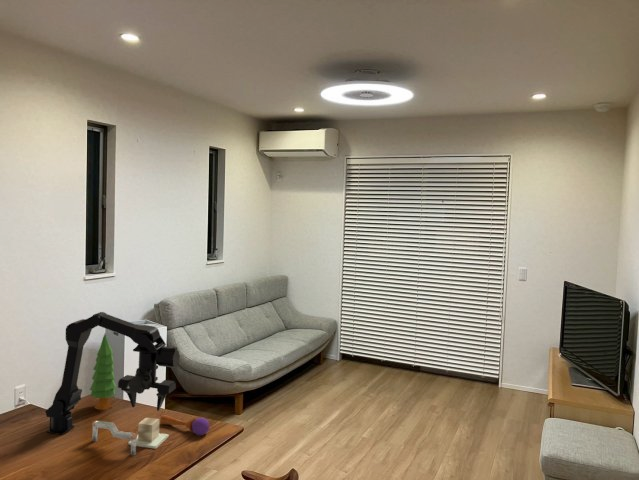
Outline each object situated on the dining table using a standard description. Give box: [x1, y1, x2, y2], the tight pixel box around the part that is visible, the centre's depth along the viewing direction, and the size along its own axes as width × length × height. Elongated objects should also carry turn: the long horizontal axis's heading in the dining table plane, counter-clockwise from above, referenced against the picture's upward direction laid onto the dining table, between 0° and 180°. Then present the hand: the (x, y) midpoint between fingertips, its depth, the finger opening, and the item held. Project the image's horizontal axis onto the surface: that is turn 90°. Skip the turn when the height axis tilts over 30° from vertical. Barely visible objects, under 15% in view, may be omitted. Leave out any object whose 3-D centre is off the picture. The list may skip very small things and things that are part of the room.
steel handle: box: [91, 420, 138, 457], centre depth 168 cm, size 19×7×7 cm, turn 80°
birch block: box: [137, 417, 160, 443], centre depth 174 cm, size 5×5×6 cm
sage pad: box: [127, 432, 169, 450], centre depth 174 cm, size 10×9×1 cm
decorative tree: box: [89, 333, 117, 411], centre depth 199 cm, size 10×9×30 cm
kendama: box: [159, 414, 210, 436], centre depth 184 cm, size 6×6×20 cm
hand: (145, 408), depth 174 cm, fingers open, 9 cm apart
